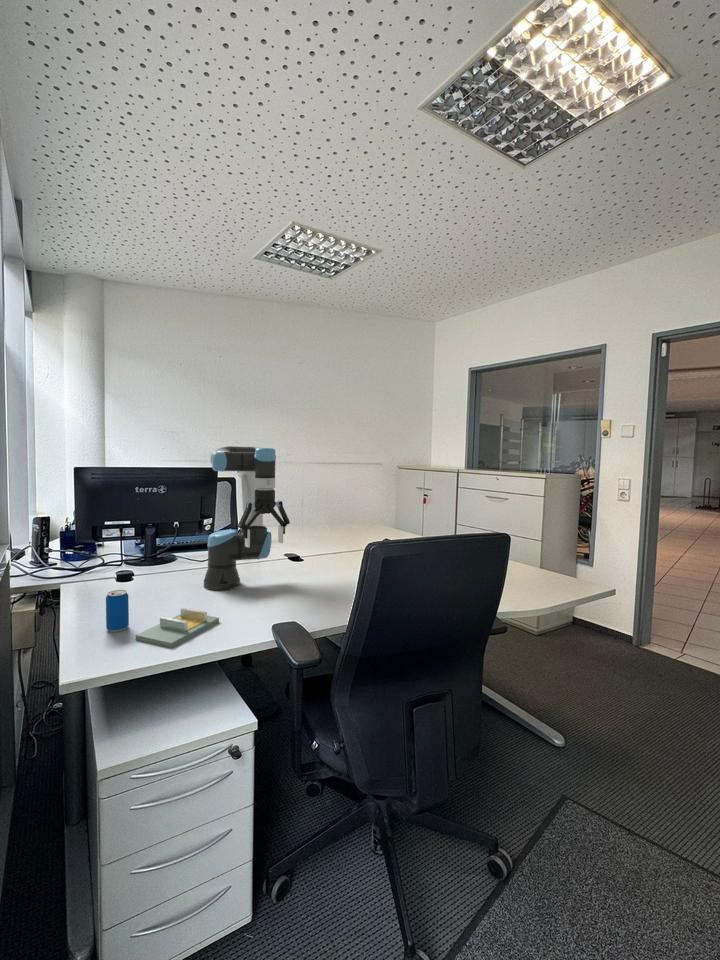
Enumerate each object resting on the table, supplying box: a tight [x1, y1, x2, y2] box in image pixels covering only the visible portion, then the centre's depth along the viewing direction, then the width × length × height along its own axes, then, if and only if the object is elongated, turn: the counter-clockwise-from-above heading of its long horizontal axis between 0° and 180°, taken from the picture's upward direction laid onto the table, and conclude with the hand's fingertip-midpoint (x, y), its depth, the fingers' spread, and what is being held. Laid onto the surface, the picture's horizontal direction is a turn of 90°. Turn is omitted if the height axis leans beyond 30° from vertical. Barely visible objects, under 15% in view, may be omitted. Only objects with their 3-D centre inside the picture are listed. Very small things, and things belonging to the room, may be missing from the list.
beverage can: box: [105, 589, 130, 633], centre depth 149 cm, size 6×6×12 cm
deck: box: [135, 613, 220, 649], centre depth 149 cm, size 14×22×2 cm, turn 159°
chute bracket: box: [159, 607, 208, 632], centre depth 150 cm, size 10×10×3 cm
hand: (264, 544), depth 173 cm, fingers open, 13 cm apart
